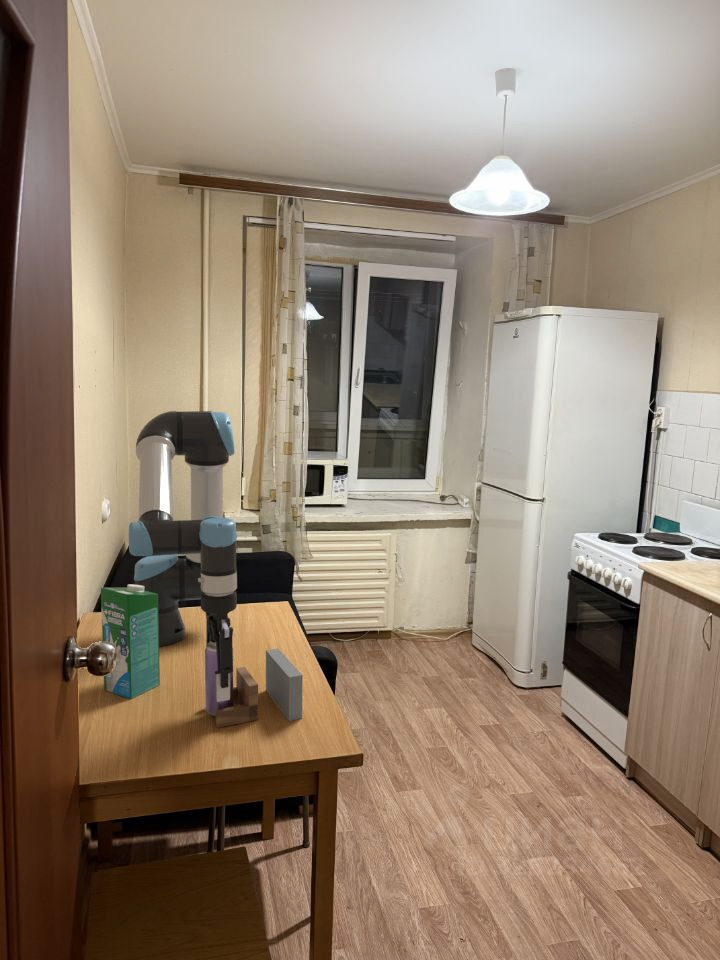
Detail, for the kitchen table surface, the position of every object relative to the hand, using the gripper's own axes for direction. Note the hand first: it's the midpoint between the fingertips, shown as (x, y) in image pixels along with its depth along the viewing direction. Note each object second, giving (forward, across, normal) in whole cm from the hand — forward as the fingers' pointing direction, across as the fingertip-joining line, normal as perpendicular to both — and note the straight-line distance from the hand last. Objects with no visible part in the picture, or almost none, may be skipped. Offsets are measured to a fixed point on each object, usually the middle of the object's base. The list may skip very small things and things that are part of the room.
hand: (219, 693), depth 149 cm
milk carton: (+6, -22, -15) cm, 27 cm away
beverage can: (+4, 0, 0) cm, 4 cm away
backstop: (+5, 0, +15) cm, 16 cm away
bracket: (+5, 0, +3) cm, 6 cm away
